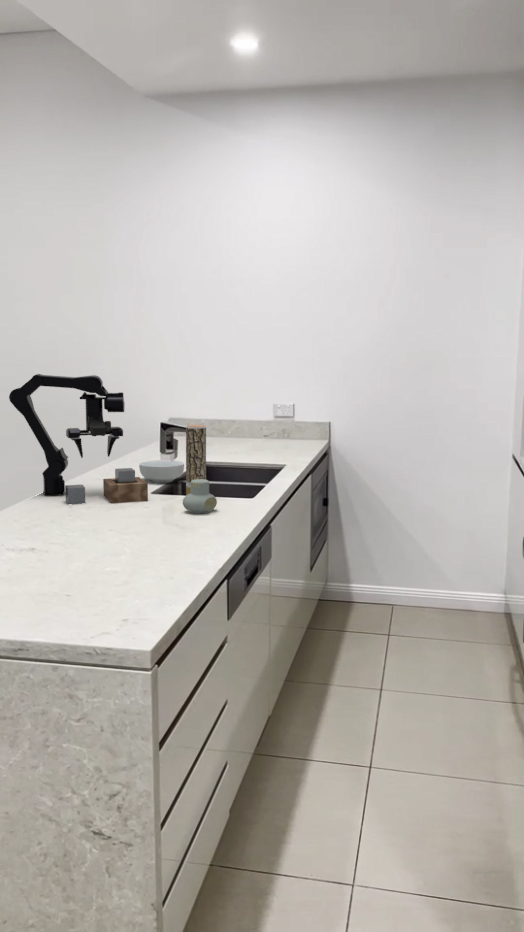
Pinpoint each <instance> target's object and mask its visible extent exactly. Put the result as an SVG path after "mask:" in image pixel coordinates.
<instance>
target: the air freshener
mask: <svg viewBox="0 0 524 932" xmlns="http://www.w3.org/2000/svg"><path fill="white" fill-rule="evenodd" d="M217 504H218V500H217V498H216V497H215V496H214V495H213V494H211V493H210V481H209V480H208V479H206V480H205V479H195V480H192V481H191V491H190V494H188V495H185V496H184V497H183V499H182V505H183V507H184V509H185V510H187V511H188V512H190V513H195V514H208V513H210V512H211V511H212V510H214V509H215V508H216V507H217Z"/></svg>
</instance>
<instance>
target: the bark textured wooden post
mask: <svg viewBox="0 0 524 932" xmlns="http://www.w3.org/2000/svg"><path fill="white" fill-rule="evenodd" d="M185 470H186V471H185V484H186V485H185V490H186V491H185V494H186V495H188V494H190V491H191V481H192V480H195V479H205V480H207V425H205V424H186V425H185ZM186 495H185V496H186Z"/></svg>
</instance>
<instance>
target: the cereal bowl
mask: <svg viewBox="0 0 524 932" xmlns="http://www.w3.org/2000/svg"><path fill="white" fill-rule="evenodd" d="M138 467H139V472H140V475H141V476H142V477H143V478H144V479H147V480H149V481H151V482H152V483H155V482H157V483H156V484H165V483H172V482H173V481H174V480H176V479H178V478H180V477H181V476H182V475H183V474H184V471H185V462H183V461H180V460H171V459H167V460H166V459H162V460H160V459H159V460H156V459H155V460H147V461H142V462H140V463H139V464H138Z"/></svg>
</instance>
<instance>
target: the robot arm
mask: <svg viewBox="0 0 524 932" xmlns="http://www.w3.org/2000/svg"><path fill="white" fill-rule="evenodd" d="M103 382H104V381H103V380H102V378H101V377H100V376H98V375H96V374H95V375H93V374H92V375H85V376H84V375H83V376H76V377H75V376H64V375H63V376H60V375H47V374H46V375H45V374H40V373H37V374H34V375H32V377H31V378H30V379H29V380H28V381H26V382H25V383H24V384H23V385H22V386H20V387H17V388H14V389H13V390H11V391H10V393H9V396H8V399H9V402H10V403H11V404H12V405H13V406H14V408H15V409H16V410H17V411H18V412H19V413H20V415H22V416H23V417H24V419H25V421H26V423H27V424H28V427H29V428H30V430H31V431H32V433H33V434H34V436H35V438H36V440H37V442H38V444H39V445H40V447H41V448H42V450H43V453H44V455H45V461H46V463H47V468H45V469H44V471H43V472H42V477H43V491H42V493H43V495H44V494H45V495H51V496H60V495H59V494H64V495H65V493H66V492H65V485H66V484H65V483H66V482H65V480H64V477H63V475H62V474H63V472H64V471H65V470H66V469H67V468H68V465H69V460H68V458H69V456H68V455H67V454H66V453H65V450H64V448H63V447H61V448H58V447H57V446H56V444H55V443H54V441H53V440H52V437H50V434H49V433H48V431H47V430H46V429H47V428H45V426H44V424H43V422H42V420H41V418H40V417H39V416H38V414H37V412H36V410H35V408H34V407H35V406H34V402H33V399H32V397H31V396H32V394H34V393H35V392H37V390H38V389H39V388H40V387H50V388H52V387H53V388H63V389H66V388H67V389H68V388H69V389H76V390H79V391H82V392H83V393H82V395H81V396H79V399H80V400H85V429H80V428H79V427H74V428H72V427H70V428H67V429H66V430H65V432H66V433H65V434H66V435H65V436H66V438H68V439H70V440H71V441H73V442H74V443H75V445H76V448H77V450H78V452H79V456H80V458H81V459H83V457H84V452H83V446H82V438H81V436H92V437H97V436H100V437H105V436H106V435H107V446H106V447H107V451H106V452H107V457H109V458H110V455H111V453H112V448H113V446H114V444H115V442H116V441H117V440H119V439H120V437H124V429H123V428H122V427H121V426H112V422H111V421H110V420H105V421H104V414H103V413H104V412H103V409H104V410H106V411H107V413H125V397H124V392H109V391H108V390H107V389H106V388H105V386H104V385H103V384H104V383H103ZM97 395H98V396H97ZM45 495H44V496H45Z"/></svg>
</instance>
